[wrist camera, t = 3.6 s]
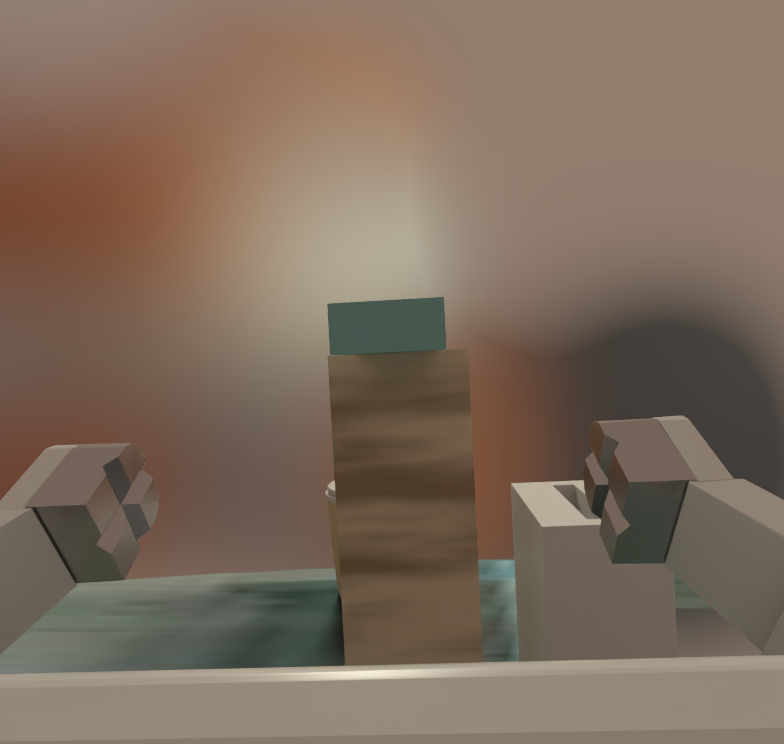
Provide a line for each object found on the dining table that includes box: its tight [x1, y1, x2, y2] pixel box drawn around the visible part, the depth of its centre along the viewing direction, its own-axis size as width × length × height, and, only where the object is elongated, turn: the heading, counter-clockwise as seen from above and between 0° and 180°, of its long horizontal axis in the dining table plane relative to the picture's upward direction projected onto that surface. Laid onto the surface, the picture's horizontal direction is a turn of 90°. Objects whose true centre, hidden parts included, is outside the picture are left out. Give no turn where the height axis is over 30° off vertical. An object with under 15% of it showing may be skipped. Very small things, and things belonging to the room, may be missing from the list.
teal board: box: [327, 297, 446, 355], centre depth 35 cm, size 28×4×2 cm, turn 177°
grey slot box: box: [511, 481, 677, 662], centre depth 35 cm, size 10×7×16 cm
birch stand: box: [328, 349, 483, 666], centre depth 36 cm, size 10×8×26 cm
